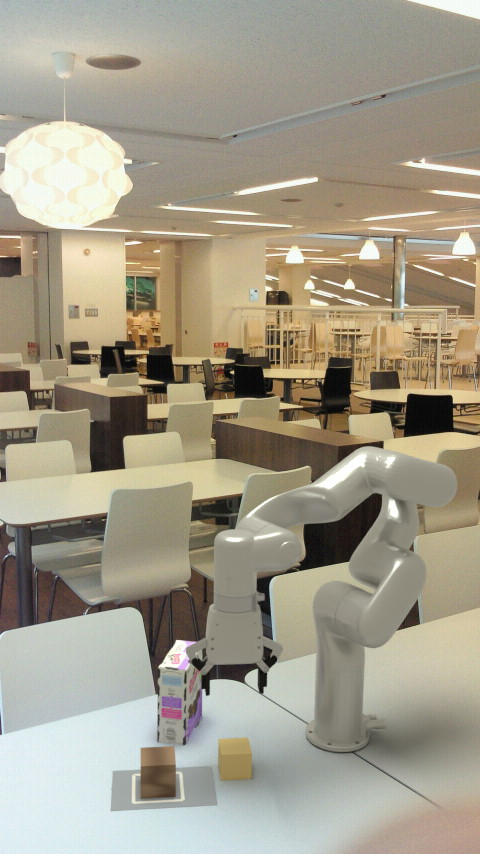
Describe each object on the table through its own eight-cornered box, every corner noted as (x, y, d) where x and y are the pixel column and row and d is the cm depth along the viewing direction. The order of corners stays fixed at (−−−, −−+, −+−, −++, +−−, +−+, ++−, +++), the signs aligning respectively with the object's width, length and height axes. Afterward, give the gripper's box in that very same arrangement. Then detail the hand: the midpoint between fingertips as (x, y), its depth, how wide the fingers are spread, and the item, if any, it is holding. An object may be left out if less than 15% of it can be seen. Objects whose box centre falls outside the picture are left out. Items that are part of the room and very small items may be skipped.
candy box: (185, 750, 162) (186, 669, 159) (156, 746, 163) (156, 666, 161) (203, 715, 175) (203, 640, 173) (175, 712, 176) (176, 638, 174)
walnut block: (174, 777, 151) (174, 746, 150) (175, 796, 145) (175, 764, 144) (140, 778, 150) (140, 747, 150) (140, 798, 145) (140, 766, 144)
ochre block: (247, 767, 157) (248, 737, 156) (251, 784, 151) (252, 753, 150) (218, 768, 156) (218, 738, 155) (220, 786, 151) (221, 754, 150)
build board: (211, 770, 155) (211, 765, 155) (217, 810, 143) (217, 804, 143) (112, 776, 153) (112, 770, 153) (110, 816, 141) (110, 810, 141)
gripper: (280, 591, 153) (278, 680, 156) (185, 594, 151) (184, 683, 154) (286, 607, 146) (284, 699, 148) (186, 609, 144) (186, 703, 147)
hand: (234, 691), depth 151 cm, fingers open, 9 cm apart
